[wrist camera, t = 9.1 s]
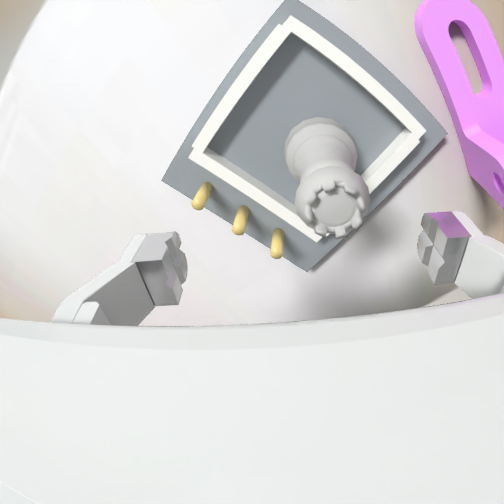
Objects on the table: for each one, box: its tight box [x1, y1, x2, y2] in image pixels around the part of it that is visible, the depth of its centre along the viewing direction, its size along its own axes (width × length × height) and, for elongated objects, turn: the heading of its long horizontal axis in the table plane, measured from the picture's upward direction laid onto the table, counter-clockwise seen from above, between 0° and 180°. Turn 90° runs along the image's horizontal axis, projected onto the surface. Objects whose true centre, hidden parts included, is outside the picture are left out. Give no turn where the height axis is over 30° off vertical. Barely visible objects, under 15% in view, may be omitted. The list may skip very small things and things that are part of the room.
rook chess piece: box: [284, 117, 370, 239], centre depth 15 cm, size 4×4×8 cm
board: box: [161, 0, 448, 272], centre depth 18 cm, size 15×13×4 cm
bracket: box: [414, 0, 504, 209], centre depth 12 cm, size 13×6×7 cm, turn 34°
